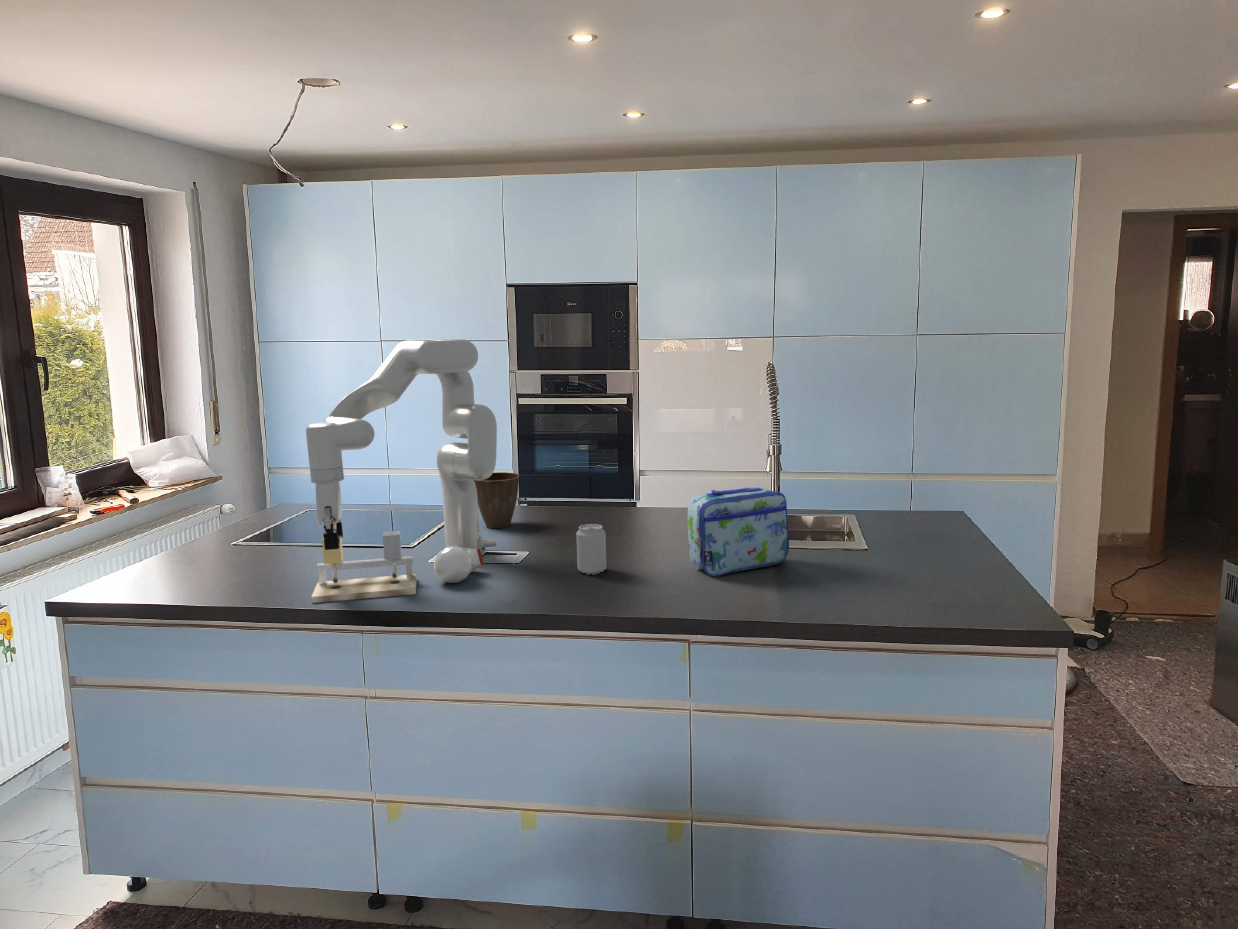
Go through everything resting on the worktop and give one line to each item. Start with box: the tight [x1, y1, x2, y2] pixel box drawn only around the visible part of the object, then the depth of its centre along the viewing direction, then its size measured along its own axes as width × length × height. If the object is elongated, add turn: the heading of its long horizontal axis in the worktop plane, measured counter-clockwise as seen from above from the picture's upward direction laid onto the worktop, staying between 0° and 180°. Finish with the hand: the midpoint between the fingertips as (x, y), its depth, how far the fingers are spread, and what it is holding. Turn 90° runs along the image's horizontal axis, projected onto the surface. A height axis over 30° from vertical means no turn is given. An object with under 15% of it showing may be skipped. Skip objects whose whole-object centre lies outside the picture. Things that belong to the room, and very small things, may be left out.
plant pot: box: [474, 471, 520, 529], centre depth 277 cm, size 15×15×16 cm
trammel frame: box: [316, 530, 414, 585], centre depth 216 cm, size 23×7×12 cm, turn 102°
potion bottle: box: [433, 546, 485, 584], centre depth 223 cm, size 9×10×15 cm
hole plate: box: [310, 573, 417, 604], centre depth 216 cm, size 24×12×2 cm, turn 102°
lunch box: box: [687, 486, 790, 577], centre depth 226 cm, size 26×11×21 cm, turn 111°
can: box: [575, 523, 607, 575], centre depth 227 cm, size 8×8×12 cm
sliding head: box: [321, 535, 344, 584], centre depth 215 cm, size 4×7×12 cm, turn 12°
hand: (334, 543), depth 213 cm, fingers open, 9 cm apart
